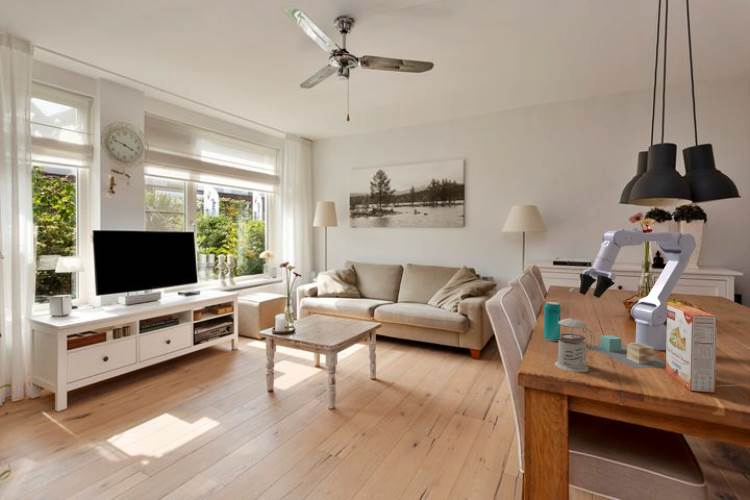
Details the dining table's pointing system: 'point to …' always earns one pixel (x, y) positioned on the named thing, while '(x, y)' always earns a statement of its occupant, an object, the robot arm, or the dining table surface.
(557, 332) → the beverage can
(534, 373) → the dining table surface
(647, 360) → the tower lower
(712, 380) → the cracker box
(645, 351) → the tower upper
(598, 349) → the slate mat
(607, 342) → the teal block
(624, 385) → the dining table surface
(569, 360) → the french press
